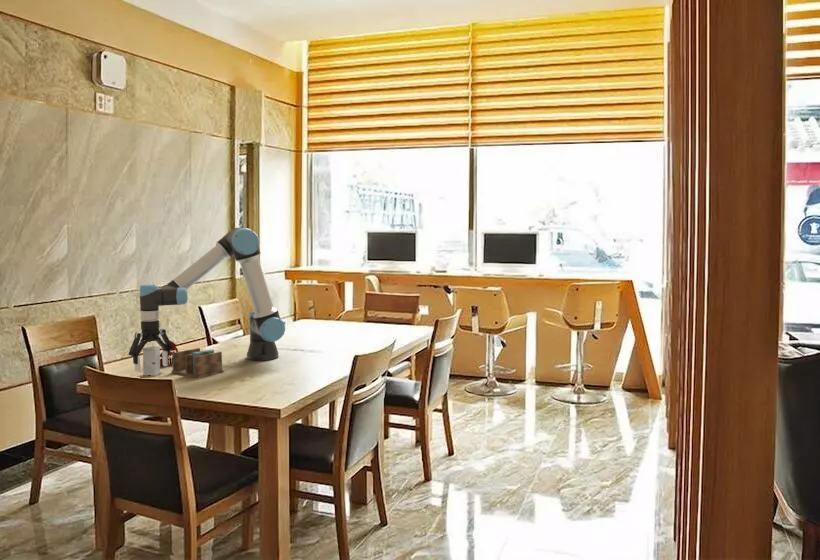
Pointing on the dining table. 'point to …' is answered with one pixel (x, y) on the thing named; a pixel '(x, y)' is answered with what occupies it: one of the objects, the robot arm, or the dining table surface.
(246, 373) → the dining table surface
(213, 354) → the rack
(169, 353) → the logo sign
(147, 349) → the skincare box
